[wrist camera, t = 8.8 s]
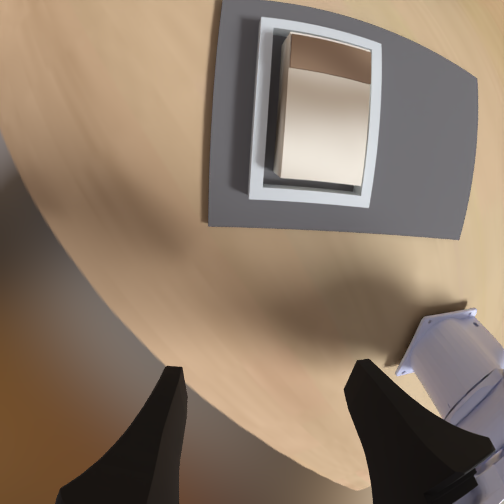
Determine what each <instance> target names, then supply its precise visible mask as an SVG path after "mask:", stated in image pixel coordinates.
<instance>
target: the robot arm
mask: <svg viewBox="0 0 504 504" xmlns="http://www.w3.org/2000/svg"><path fill="white" fill-rule="evenodd" d="M476 313H477V309H476V308H470V309H465V310H460V311H454V312H449V313H443V314H436V315H430V316H425V317H423V318H422V320H421V322H420V324H419V326H418V328H417V331H416V333H415V335H414V337H413V339H412V341H411V343H410V345H409V347H408V349H407V351H406V353H405V355H404V357H403V359H402V361H401V363H400V364H399V366H398V368H397V370H396V372H395V374H396V376H400V375H404V374H408V373H412V372H415V374H416V376H417V377H418V379H419V380H420V382H421V383H422V385H423V387H424V388H425V390H426V392H427V393H428V395H429V396H430V398H431V400H432V401H433V403H434V405H435V407H436V408H437V410H438V412H439V413H440V415H441V417H442V419H441V418H440V417H438V416H436V415H435V414H433V413H432V412H430V411H429V410H427V409H426V408H424V407H423V406H422V405H420V404H419V403H418V402H417V401H415V400H414V399H413V398H411V397H410V396H409V395H408V394H407V393H406V392H404V391H403V390H402V389H401V388H400V387H399V386H398V385H397V384H395V383H394V382H393V381H392V380H391V379H390V378H389V377H388V376H387V375H386V374H385V373H384V372H383V371H382V370H381V369H379V368H378V367H377V366H376V365H375V364H374V363H373V362H372V361H371V360H370V359H364V360H357V361H356V364H355V366H354V368H353V370H352V373H351V375H350V377H349V379H348V381H347V383H346V386H345V388H344V393H345V397H346V402H347V406H348V409H349V412H350V415H351V417H352V420H353V423H354V425H355V428H356V430H357V433H358V436H359V438H360V441H361V443H362V446H363V449H364V452H365V456H366V460H367V465H368V469H369V475H370V480H371V487H372V496H373V504H500V503H501V502H502V501H503V500H504V349H503V347H502V345H501V344H500V343H499V342H498V341H497V340H496V339H495V338H494V336H493V335H492V334H491V333H490V332H489V331H488V330H487V329H486V328H485V327H484V326H483V325H482V324H481V323H480V322H479V321H478V320H477V319H476V318H475V315H476ZM187 398H188V397H187V391H186V386H185V380H184V374H183V368H182V367H175V366H166V367H165V369H164V371H163V373H162V375H161V377H160V379H159V381H158V382H157V384H156V386H155V388H154V390H153V391H152V393H151V395H150V396H149V398H148V400H147V401H146V403H145V405H144V406H143V408H142V409H141V411H140V412H139V414H138V415H137V416H136V418H135V419H134V421H133V422H132V423H131V425H130V426H129V427H128V429H127V430H126V431H125V433H124V434H123V435H122V436H121V437H120V438H119V440H118V441H117V442H116V443H115V444H114V445H113V446H112V447H111V448H110V449H109V450H108V451H107V452H106V453H105V454H104V455H103V457H101V458H100V459H99V460H98V461H97V462H96V463H94V464H93V465H92V466H91V467H90V468H88V469H87V470H86V471H85V472H84V473H82V474H81V475H80V476H78V477H77V478H75V479H74V480H72V481H71V482H69V483H68V484H67V485H65V486H63V487H62V488H60V490H59V494H58V495H57V498H56V503H55V504H179V466H180V457H181V451H182V444H183V437H184V431H185V425H186V418H187Z"/></svg>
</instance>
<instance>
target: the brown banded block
mask: <svg viewBox="0 0 504 504" xmlns="http://www.w3.org/2000/svg"><path fill="white" fill-rule="evenodd" d="M370 84H371V52H370V50H367V49H364V48H360V47H357V46H354V45H350V44H347V43H343V42H339V41H335V40H331V39H327V38H322V37H317V36H312V35H307V34H302V33H296V32H290V33H289V35H288V36H287V38H286V39H285V41H284V43H283V44H282V47H281V64H280V81H279V97H278V112H277V126H276V141H275V154H274V167H273V172H274V173H275V174H277V175H278V176H279V177H280V178H288V179H300V180H311V181H322V182H331V183H340V184H348V185H356V186H361V183H362V175H363V168H364V159H365V150H366V140H367V129H368V115H369V98H370Z"/></svg>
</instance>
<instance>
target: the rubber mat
mask: <svg viewBox="0 0 504 504" xmlns="http://www.w3.org/2000/svg"><path fill="white" fill-rule="evenodd" d="M261 17H268V18H276V19H284V20H291V21H297V22H303V23H308V24H313V25H318V26H322V27H327V28H331V29H335V30H339V31H342V32H346V33H350V34H353V35H356V36H360V37H363V38H366V39H369V40H372V41H375V42H378V43H380V44H381V47H382V85H381V109H380V124H379V136H378V146H377V155H376V163H375V171H374V179H373V185H372V192H371V198H370V204H369V208H363V207H353V206H343V205H331V204H319V203H306V202H291V201H274V200H253V199H249V197H248V182H249V166H250V150H251V134H252V119H253V104H254V89H255V75H256V60H257V47H258V33H259V23H260V20H261ZM286 38H287V37H285V36H277V35H273V43H272V59H271V74H270V89H269V104H268V119H267V134H266V148H265V162H264V176H263V184H271V185H286V186H299V187H311V188H322V189H332V190H342V191H350V192H353V188H354V185H348V184H340V183H331V182H322V181H311V180H300V179H288V178H280V177H279V176H278V175H277V174H275V173H274V172H273V167H274V154H275V141H276V126H277V112H278V97H279V81H280V64H281V47H282V44H283V43H284V41H285V39H286ZM477 129H478V83H477V78H476V77H474V76H473V75H471V74H470V73H468V72H467V71H465V70H464V69H462V68H461V67H459V66H457V65H456V64H454V63H453V62H451V61H449V60H448V59H446V58H444V57H442V56H441V55H439V54H437V53H435V52H433V51H431V50H429V49H427V48H426V47H424V46H422V45H420V44H417V43H415V42H413V41H411V40H409V39H407V38H405V37H402V36H400V35H398V34H395V33H393V32H390V31H388V30H385V29H383V28H380V27H378V26H375V25H372V24H369V23H366V22H363V21H360V20H357V19H354V18H351V17H347V16H344V15H340V14H336V13H333V12H329V11H325V10H320V9H316V8H311V7H306V6H301V5H295V4H289V3H282V2H274V1H266V0H223V2H222V10H221V18H220V27H219V36H218V46H217V56H216V67H215V79H214V93H213V107H212V124H211V144H210V170H209V211H208V226H211V227H247V228H275V229H299V230H320V231H339V232H356V233H373V234H388V235H402V236H415V237H428V238H440V239H452V240H459V239H460V235H461V231H462V227H463V223H464V219H465V215H466V210H467V206H468V201H469V196H470V190H471V184H472V178H473V171H474V164H475V155H476V144H477Z"/></svg>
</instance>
